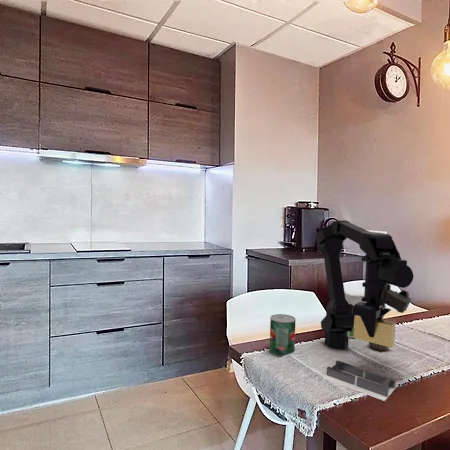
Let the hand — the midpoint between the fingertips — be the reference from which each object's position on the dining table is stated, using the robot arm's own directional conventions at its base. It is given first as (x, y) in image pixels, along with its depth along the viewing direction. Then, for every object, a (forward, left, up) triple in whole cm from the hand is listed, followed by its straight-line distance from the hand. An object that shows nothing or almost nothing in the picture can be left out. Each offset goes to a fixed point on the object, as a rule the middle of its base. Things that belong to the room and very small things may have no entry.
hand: (373, 335), depth 99 cm
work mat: (0, -8, -11) cm, 14 cm away
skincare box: (-16, +27, -11) cm, 34 cm away
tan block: (0, 0, -2) cm, 2 cm away
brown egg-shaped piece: (-5, +21, -11) cm, 25 cm away
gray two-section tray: (0, -8, -10) cm, 13 cm away
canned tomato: (-26, -5, -11) cm, 29 cm away
